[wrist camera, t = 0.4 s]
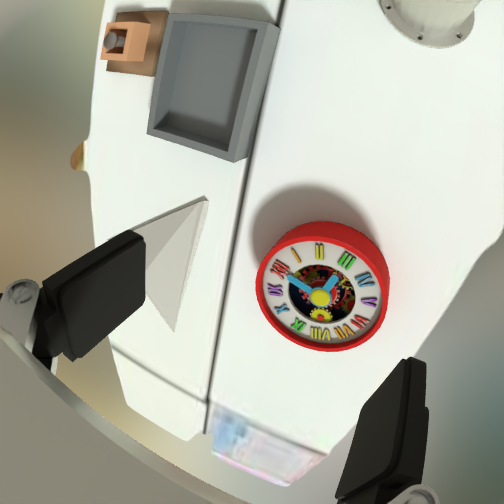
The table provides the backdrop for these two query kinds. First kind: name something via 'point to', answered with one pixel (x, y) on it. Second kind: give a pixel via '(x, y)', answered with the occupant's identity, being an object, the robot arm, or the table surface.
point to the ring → (127, 41)
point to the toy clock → (324, 286)
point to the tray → (211, 82)
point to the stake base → (152, 46)
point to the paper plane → (171, 257)
